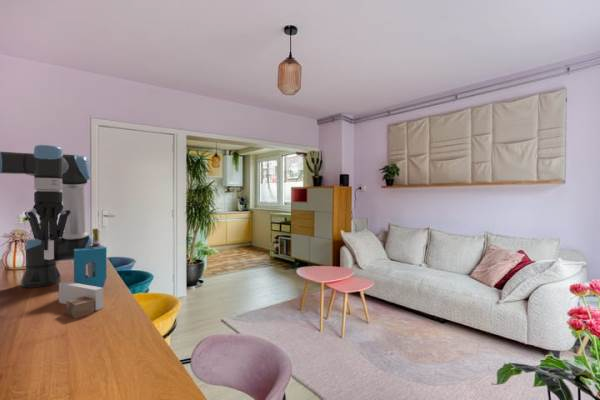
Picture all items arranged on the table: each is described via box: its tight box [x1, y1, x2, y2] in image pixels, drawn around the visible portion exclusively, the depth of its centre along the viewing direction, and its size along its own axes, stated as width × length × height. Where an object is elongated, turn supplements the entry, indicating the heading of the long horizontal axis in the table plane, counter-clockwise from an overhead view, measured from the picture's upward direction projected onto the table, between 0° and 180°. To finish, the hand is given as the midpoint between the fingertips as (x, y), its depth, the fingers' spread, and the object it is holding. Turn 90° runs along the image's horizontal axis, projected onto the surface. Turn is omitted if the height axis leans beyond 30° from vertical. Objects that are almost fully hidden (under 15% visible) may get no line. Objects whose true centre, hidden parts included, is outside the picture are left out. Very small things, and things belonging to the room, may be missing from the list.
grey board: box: [58, 280, 104, 312], centre depth 122 cm, size 22×3×8 cm, turn 68°
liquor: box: [87, 228, 105, 277], centre depth 145 cm, size 7×7×28 cm
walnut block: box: [65, 296, 95, 319], centre depth 114 cm, size 8×6×5 cm
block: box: [73, 246, 108, 289], centre depth 137 cm, size 12×5×20 cm, turn 126°
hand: (48, 258), depth 105 cm, fingers closed
